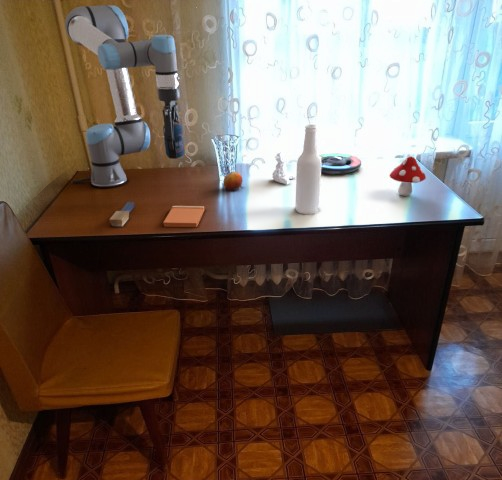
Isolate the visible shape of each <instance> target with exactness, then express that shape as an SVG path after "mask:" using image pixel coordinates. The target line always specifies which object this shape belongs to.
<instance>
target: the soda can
mask: <svg viewBox="0 0 502 480" xmlns="http://www.w3.org/2000/svg"><path fill="white" fill-rule="evenodd" d="M162 131H163V140H164V149H165V155H166V156H167V158H169V150H168V142H167V140H165V128H164V126H163V127H162ZM183 131H184V130H183V126H182V125H181V121H180V120H179V121H176V122H174V140H175V143H176V153H177V159H178V160H179V159H182V158H183V157H184V156H185V145H184V144H185V143H184V134H183ZM177 159H176V160H177Z"/></svg>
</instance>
